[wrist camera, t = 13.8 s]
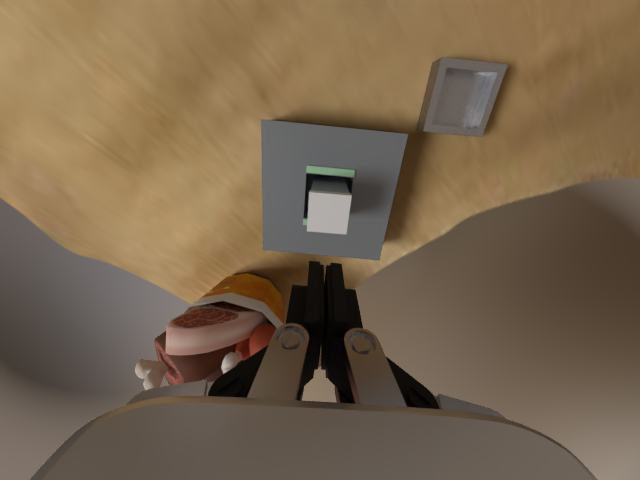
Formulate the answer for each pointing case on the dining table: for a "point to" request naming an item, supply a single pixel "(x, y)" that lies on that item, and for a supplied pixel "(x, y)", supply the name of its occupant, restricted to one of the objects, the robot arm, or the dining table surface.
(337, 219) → the plug
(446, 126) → the box
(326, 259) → the dining table surface
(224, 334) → the bucket of meat
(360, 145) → the port block
